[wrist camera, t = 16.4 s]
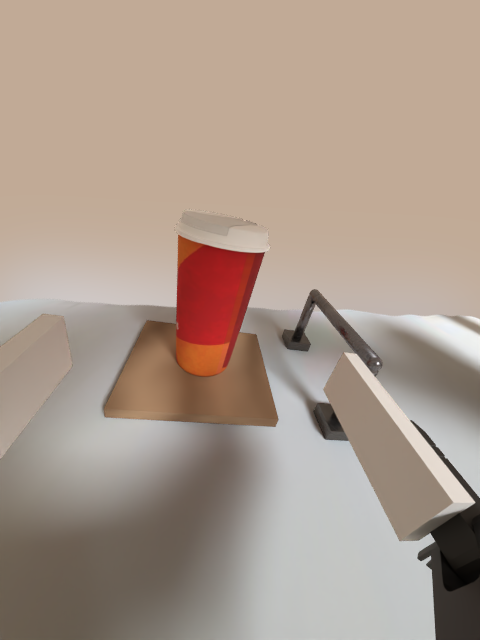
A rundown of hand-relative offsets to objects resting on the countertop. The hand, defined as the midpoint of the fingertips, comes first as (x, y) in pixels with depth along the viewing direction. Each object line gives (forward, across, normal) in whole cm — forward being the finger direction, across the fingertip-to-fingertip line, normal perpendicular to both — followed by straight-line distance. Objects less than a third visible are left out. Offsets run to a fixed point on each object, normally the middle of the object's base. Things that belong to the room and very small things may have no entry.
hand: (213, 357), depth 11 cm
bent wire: (+11, +13, -10) cm, 20 cm away
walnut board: (+10, 0, -10) cm, 14 cm away
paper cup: (+11, 0, -9) cm, 14 cm away
